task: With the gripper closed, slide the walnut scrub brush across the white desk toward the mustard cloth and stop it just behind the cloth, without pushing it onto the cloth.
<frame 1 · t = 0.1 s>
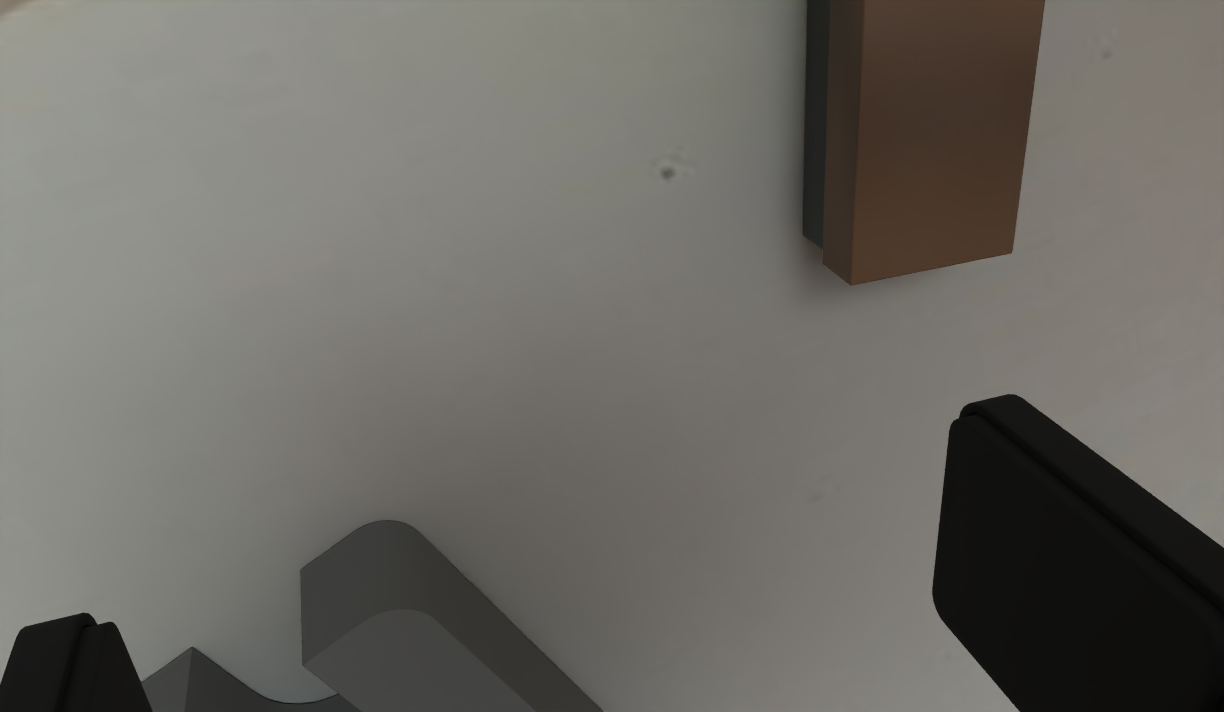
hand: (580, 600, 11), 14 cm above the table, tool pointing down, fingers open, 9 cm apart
brush: (880, 60, 24), on the table
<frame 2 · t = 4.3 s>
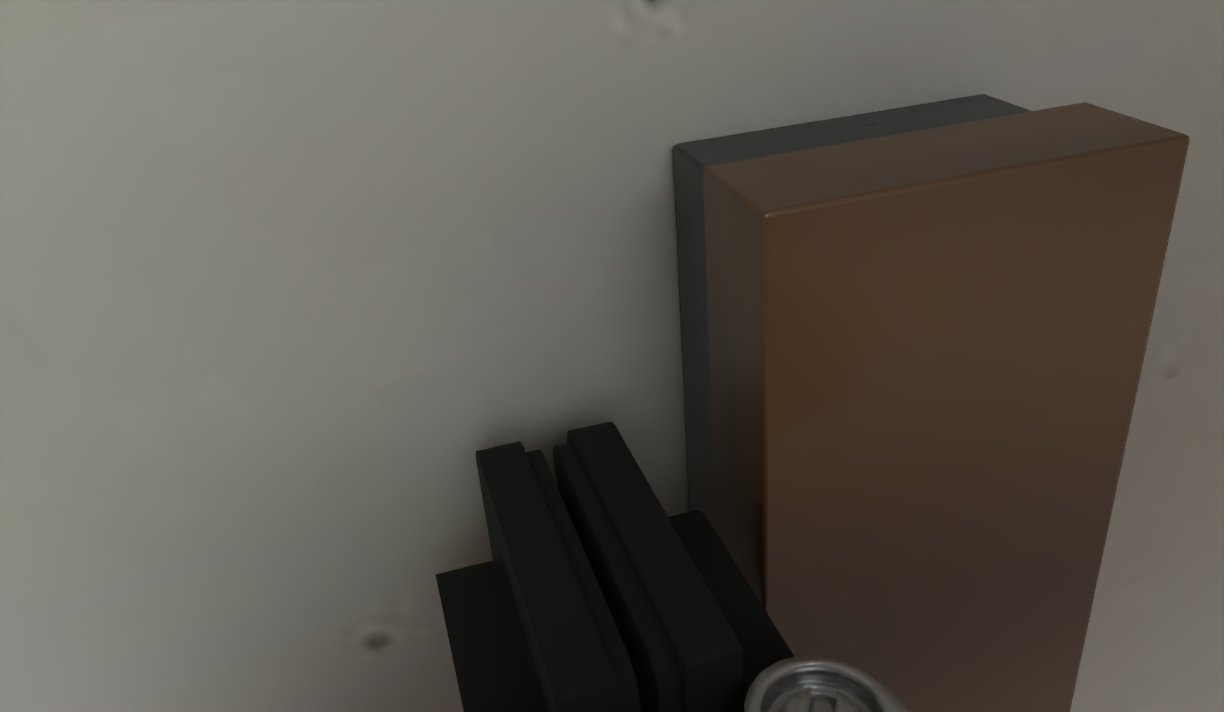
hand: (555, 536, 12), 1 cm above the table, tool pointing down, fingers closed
brush: (824, 422, 14), on the table, touching gripper
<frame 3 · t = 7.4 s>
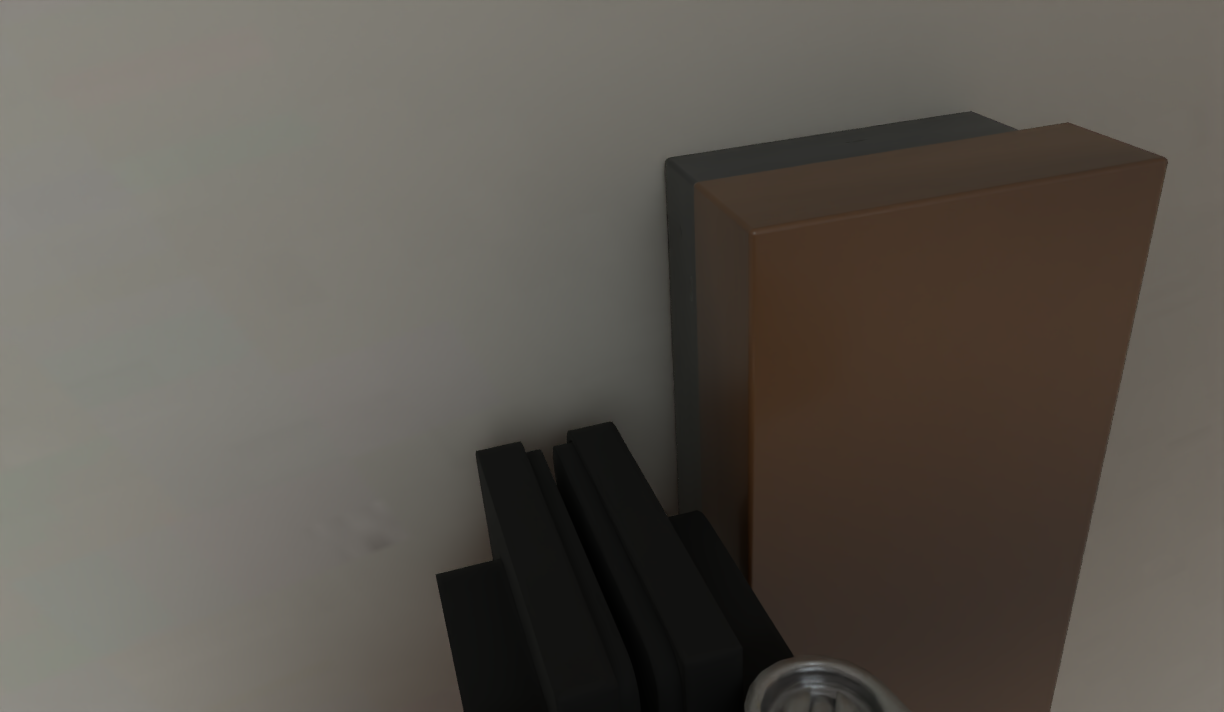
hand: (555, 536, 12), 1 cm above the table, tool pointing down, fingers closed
brush: (811, 429, 14), on the table, touching gripper
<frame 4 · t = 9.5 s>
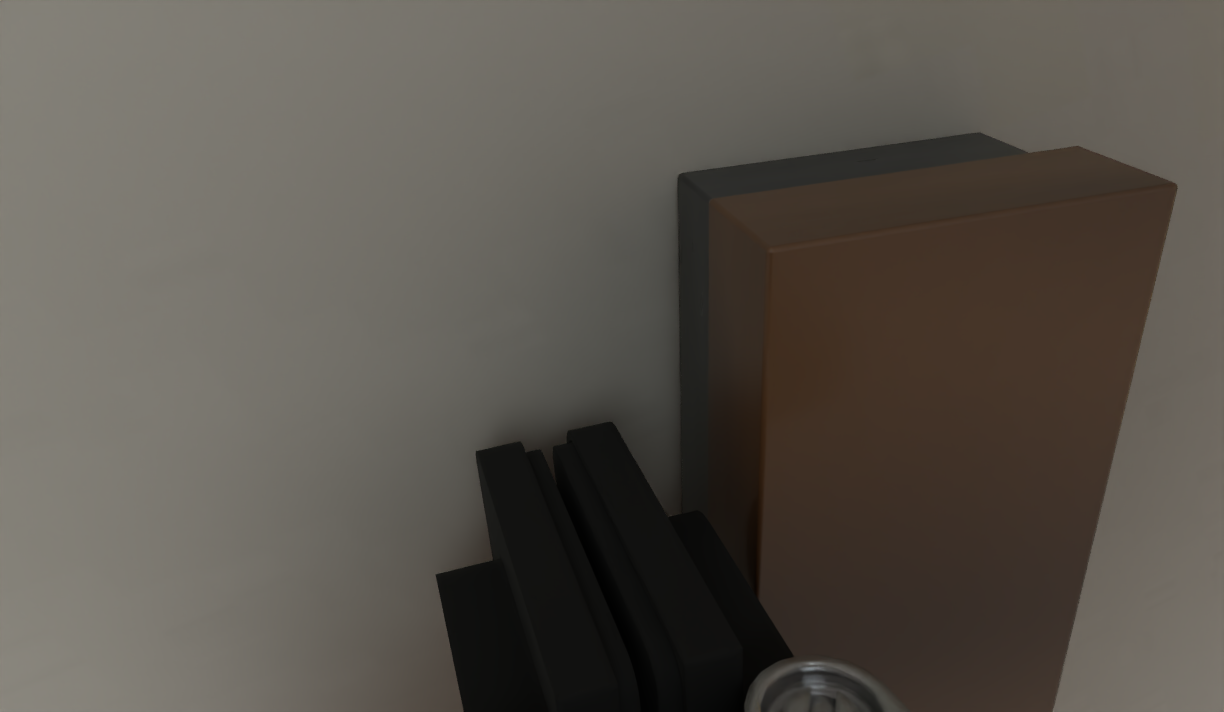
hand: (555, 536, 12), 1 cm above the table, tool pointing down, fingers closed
brush: (815, 445, 14), on the table, touching gripper
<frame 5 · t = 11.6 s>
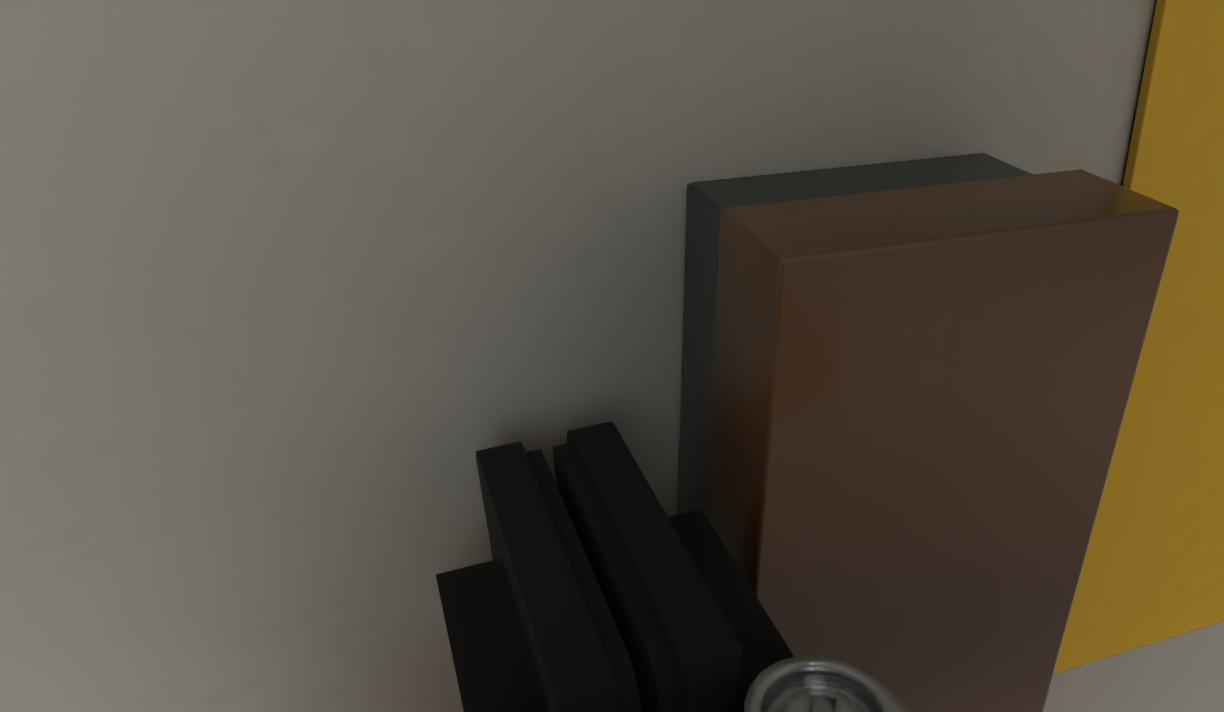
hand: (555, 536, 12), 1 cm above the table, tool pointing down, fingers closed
brush: (811, 456, 14), on the table, touching gripper
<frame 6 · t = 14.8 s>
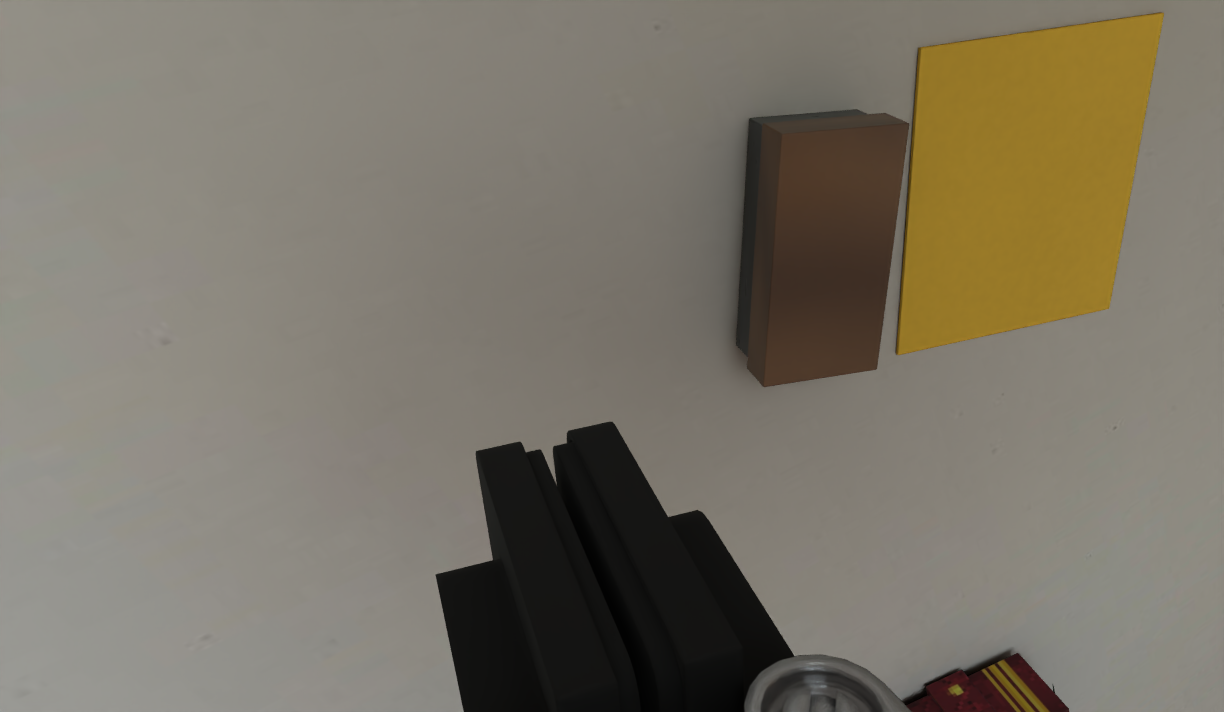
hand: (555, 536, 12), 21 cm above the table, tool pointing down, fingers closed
brush: (794, 232, 36), on the table
cloth: (1022, 191, 38), on the table
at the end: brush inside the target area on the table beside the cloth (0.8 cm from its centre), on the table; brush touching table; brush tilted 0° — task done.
